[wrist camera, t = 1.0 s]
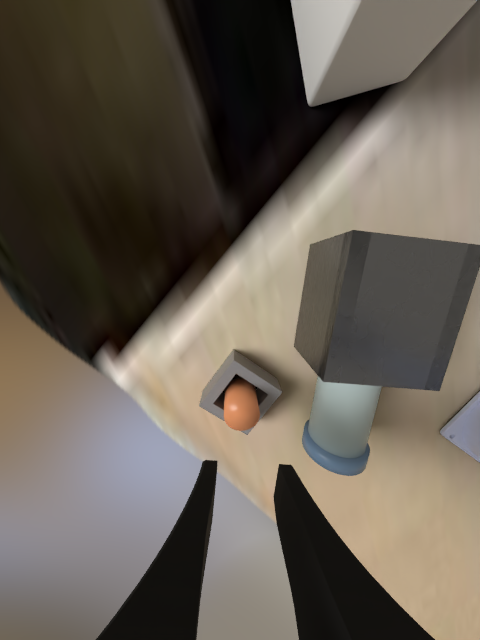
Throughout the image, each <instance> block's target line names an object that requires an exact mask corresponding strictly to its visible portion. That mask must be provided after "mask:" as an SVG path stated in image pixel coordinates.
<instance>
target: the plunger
mask: <svg viewBox="0 0 480 640" xmlns="http://www.w3.org/2000/svg"><path fill="white" fill-rule="evenodd" d="M259 418H260V411H259V405H258V400H257V395H256V390H255V387H254V385H253V384H252V383H250V382H248V381H247V380H245V379H243V378H239V379H235V380H232V381H231V382H230V383H229V384H228V385H227V386H226V389H225V400H224V420H225V422H226V424H227V425H228V426H229V427H231V428H232V429H235V430H239V431H244V430H248V429H250V428H252V427H254V426H255V425H256V424H257V422H258V421H259Z"/></svg>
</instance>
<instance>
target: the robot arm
mask: <svg viewBox="0 0 480 640" xmlns="http://www.w3.org/2000/svg"><path fill="white" fill-rule="evenodd" d="M440 433H441V435H442V436H444V437H445V438H446V439H448V440H449V441H450V442H452V443H453V444H455V445H456V446H457V447H459V448H460V449H462V450H463V451H464V452H466V453H467V454H468V455H470V456H471V457H473V458H474V459H475V460H477V461H478V462H479V463H480V391H479V392H478V393H477V394H476V395H475V396H474V397H473V398H472V399H471V400H470V401H469V402H468V403H467V404H466V405H465V406H464V407H463V408H462V409H461V410H460V411H459V412H458V413H457V414H456V415H455V416H454V417H453V418H452V419H451V420H450V421H449V422H448V423H447V424H446V425H445V426H444V427H443V428H442V429H441V431H440ZM216 474H217V461H211V460H205V461H203V463H202V467H201V470H200V473H199V476H198V478H197V481H196V484H195V486H194V488H193V490H192V492H191V495H190V497H189V499H188V501H187V503H186V505H185V507H184V509H183V511H182V513H181V515H180V517H179V519H178V520H177V522H176V524H175V526H174V528H173V530H172V531H171V533H170V535H169V537H168V538H167V540H166V541H165V543H164V545H163V547H162V548H161V550H160V551H159V553H158V555H157V556H156V558H155V559H154V561H153V562H152V564H151V565H150V567H149V569H148V570H147V571H146V573H145V574H144V576H143V577H142V579H141V580H140V582H139V583H138V585H137V586H136V587H135V589H134V590H133V591H132V593H131V594H130V595H129V597H128V598H127V600H126V601H125V602H124V604H123V605H122V606H121V608H120V609H119V611H118V612H117V614H116V615H115V616H114V617H113V619H112V620H111V621H110V623H109V624H108V625H107V626H106V628H105V629H104V630H103V631H102V633H101V634H100V635H99V636H98V638H97V639H96V640H196V637H197V626H198V616H199V606H200V598H201V590H202V583H203V576H204V570H205V563H206V557H207V550H208V544H209V537H210V531H211V524H212V516H213V506H214V495H215V485H216ZM274 504H275V513H276V521H277V526H278V531H279V536H280V541H281V545H282V550H283V554H284V559H285V564H286V568H287V573H288V578H289V582H290V587H291V592H292V597H293V603H294V608H295V615H296V621H297V629H298V635H299V640H435V639H434V638H433V637H432V636H430V635H429V634H428V633H427V632H426V631H425V630H424V629H423V628H422V627H421V626H420V625H419V624H418V623H417V622H416V621H415V620H414V619H413V618H412V617H411V616H410V615H409V614H408V613H407V612H406V611H405V610H404V609H403V608H402V607H401V606H400V605H399V604H398V603H397V602H396V601H395V600H394V599H393V598H392V597H391V596H390V595H389V594H388V593H387V592H386V590H385V589H384V588H383V587H382V586H381V585H380V584H379V583H378V582H377V581H376V580H375V579H374V578H373V577H372V575H371V574H370V573H369V572H368V571H367V570H366V569H365V567H364V566H363V565H362V564H361V563H360V562H359V560H358V559H357V558H356V557H355V556H354V554H353V553H352V552H351V551H350V549H349V548H348V547H347V546H346V545H345V543H344V542H343V541H342V539H341V538H340V537H339V536H338V534H337V533H336V532H335V530H334V529H333V527H332V526H331V525H330V523H329V522H328V521H327V519H326V518H325V516H324V515H323V514H322V512H321V511H320V509H319V508H318V506H317V505H316V503H315V502H314V500H313V499H312V497H311V496H310V494H309V493H308V491H307V489H306V488H305V486H304V485H303V483H302V481H301V480H300V478H299V477H298V475H297V473H296V472H295V470H294V468H293V467H292V465H283V464H279V468H278V474H277V480H276V486H275V492H274Z"/></svg>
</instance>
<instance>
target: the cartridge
mask: <svg viewBox="0 0 480 640" xmlns="http://www.w3.org/2000/svg"><path fill="white" fill-rule="evenodd" d="M381 388H382V386H370V385H357V384H344V383H331V382H323V381H322V380H321V379H320V378H319V376H318V378H317V383H316V388H315V393H314V399H313V404H312V409H311V414H310V419H309V420H308V421H307V422H306V423H305V426H304V431H303V436H302V444H303V447H304V449H305V451H306V452H307V454H308V455H309V456H310V457H311V458H312V459H313V460H314V461H315V462H316V463H317V464H319V465H320V466H322V467H323V468H325V469H327V470H329V471H331V472H334V473H337V474H341V475H347V476H353V475H357V474H360V473H362V472H363V471H364V470H365V468H366V464H367V461H368V457H369V453H370V448H369V445H368V443H367V442H368V438H369V434H370V430H371V427H372V423H373V419H374V415H375V411H376V407H377V404H378V400H379V396H380V392H381Z"/></svg>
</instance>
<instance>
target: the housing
mask: <svg viewBox="0 0 480 640" xmlns="http://www.w3.org/2000/svg"><path fill="white" fill-rule="evenodd" d="M479 267H480V245H475V244H467V243H458V242H450V241H441V240H433V239H424V238H416V237H407V236H399V235H390V234H382V233H373V232H365V231H356V230H352V231H349V232H346V233H343V234H340V235H337V236H334V237H331V238H328V239H325V240H322V241H319V242H316V243H314V244H311V245H310V250H309V256H308V262H307V268H306V274H305V281H304V287H303V293H302V299H301V305H300V312H299V318H298V324H297V330H296V336H295V343H294V347H295V348H296V350H297V351H298V352H299V353H300V354H301V356H302V357H303V358H304V359H305V360H306V362H307V363H308V364H309V365H310V367H311V368H312V369H313V370H314V371H315V373H316V374H317V375H318V376H319V378H320V379H321V380H322V381H323V382H331V383H344V384H357V385H370V386H383V387H396V388H409V389H422V390H434V391H440V388H441V385H442V382H443V379H444V375H445V372H446V369H447V366H448V363H449V360H450V357H451V354H452V351H453V348H454V345H455V341H456V338H457V335H458V332H459V329H460V326H461V323H462V320H463V317H464V314H465V311H466V307H467V304H468V301H469V298H470V295H471V292H472V289H473V286H474V283H475V280H476V277H477V273H478V270H479Z"/></svg>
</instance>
